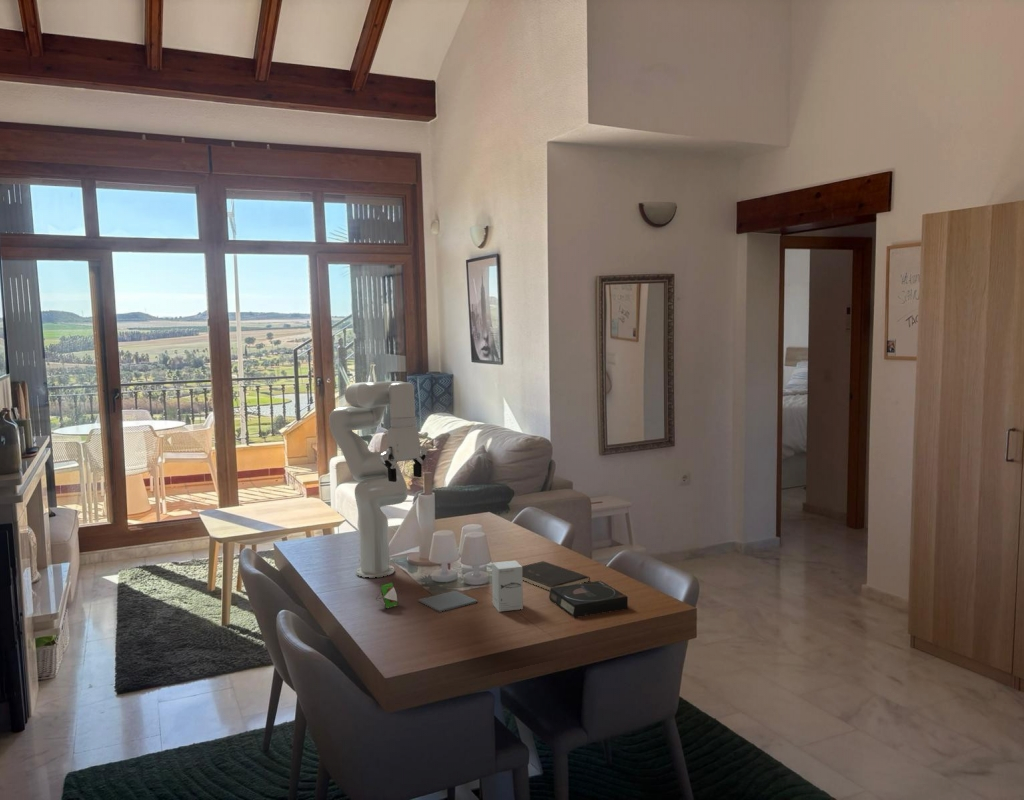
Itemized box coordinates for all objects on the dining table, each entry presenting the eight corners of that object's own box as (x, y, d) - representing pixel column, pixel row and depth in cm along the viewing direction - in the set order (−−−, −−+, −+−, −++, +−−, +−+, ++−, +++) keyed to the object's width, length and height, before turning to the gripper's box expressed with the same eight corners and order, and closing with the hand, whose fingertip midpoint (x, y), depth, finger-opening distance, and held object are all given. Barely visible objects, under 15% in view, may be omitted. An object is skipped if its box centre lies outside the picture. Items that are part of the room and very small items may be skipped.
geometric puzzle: (369, 597, 234) (377, 580, 230) (388, 592, 238) (397, 574, 234) (381, 616, 230) (390, 599, 226) (400, 610, 235) (409, 593, 231)
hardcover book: (550, 593, 242) (550, 586, 242) (506, 576, 260) (506, 569, 260) (590, 583, 251) (590, 576, 251) (544, 567, 270) (544, 560, 270)
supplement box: (498, 612, 225) (497, 568, 224) (492, 604, 232) (491, 561, 231) (523, 609, 227) (522, 566, 226) (516, 601, 234) (515, 559, 233)
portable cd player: (549, 601, 235) (548, 588, 234) (600, 593, 241) (600, 580, 240) (573, 619, 219) (572, 605, 219) (627, 610, 225) (627, 596, 225)
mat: (418, 601, 236) (418, 599, 236) (455, 592, 244) (455, 590, 243) (439, 612, 226) (439, 610, 226) (477, 602, 234) (477, 600, 234)
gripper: (417, 420, 250) (419, 474, 251) (372, 425, 238) (374, 482, 239) (432, 421, 245) (435, 476, 246) (387, 426, 232) (390, 484, 234)
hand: (405, 479), depth 242 cm, fingers open, 9 cm apart
